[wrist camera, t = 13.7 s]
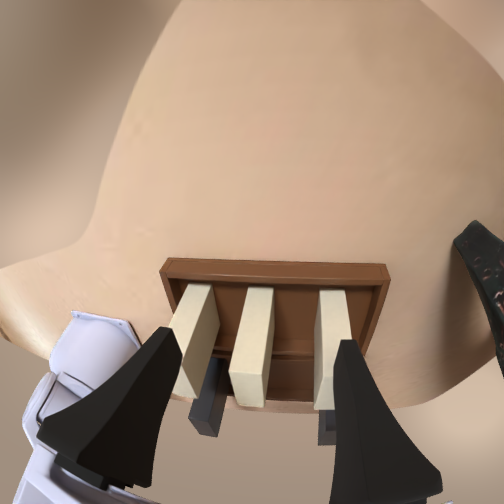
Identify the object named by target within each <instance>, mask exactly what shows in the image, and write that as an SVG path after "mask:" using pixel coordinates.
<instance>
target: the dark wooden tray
mask: <svg viewBox="0 0 504 504" xmlns="http://www.w3.org/2000/svg"><path fill="white" fill-rule="evenodd" d="M232 354H233V351H224V350H215V349H213V350H212V354H211V357H215V358H224V359H226V360H227V364H228V368H229V367H230V363H231V359H232ZM227 396H233V397H235V394H234V390H233V386H232V382H231V381H230V386H229V390H228V394H227ZM266 400H278V401H302V402H314V356H298V355H275V354H272V355H271V363H270V370H269V378H268V385H267V393H266Z"/></svg>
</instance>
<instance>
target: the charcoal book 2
mask: <svg viewBox="0 0 504 504" xmlns="http://www.w3.org/2000/svg"><path fill="white" fill-rule="evenodd" d="M318 445H336V421H335V410H319V430H318Z"/></svg>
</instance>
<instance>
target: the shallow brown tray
mask: <svg viewBox="0 0 504 504" xmlns="http://www.w3.org/2000/svg"><path fill="white" fill-rule="evenodd" d="M159 273H160V276H161V279H162V282H163V285H164V288H165V291H166V294H167V297H168V300H169V303H170V306H171V309H172V312H173V315H174V313H175V311H176V309H177V307H178V305H179V303H180V300H181V298H182V296H183V294H184V292H185V290H186V288H187V286H188V284H189V282H196V283H212V287H213V292H214V297H215V302H216V306H217V311H218V316H219V321H220V327H219V330H218V334H217V337H216V340H215V344H214V347H213V349H215V350H224V351H233V350H234V346H235V342H236V338H237V333H238V329H239V325H240V321H241V316H242V312H243V308H244V304H245V299H246V295H247V291H248V287H249V285H252V286H274V314H275V330H274V338H273V347H272V354H275V355H298V356H314V327H315V320H316V313H317V305H318V297H319V289H320V288H344V289H345V295H346V301H347V308H348V315H349V322H350V329H351V336H352V339H355V340H357V342H358V345H359V348H360V350H361V353H362V355H365V354H366V351H367V349H368V346H369V344H370V341H371V338H372V336H373V333H374V330H375V327H376V325H377V322H378V319H379V316H380V313H381V310H382V307H383V304H384V301H385V298H386V294H387V291H388V288H389V284H390V281H391V278H390V275H389V273H388V270H387V268H386V265H385V264H366V263H321V262H283V261H249V260H217V259H188V258H168V259H167V260H166V262H165V263H164V265H163V266H162V268H161V270H160V271H159Z"/></svg>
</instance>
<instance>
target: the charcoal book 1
mask: <svg viewBox="0 0 504 504" xmlns="http://www.w3.org/2000/svg"><path fill="white" fill-rule="evenodd" d="M230 381H231V378H230V374H229V368H228V364H227V360H226V359H224V358H215V357H210V361H209V364H208V367H207V371H206V374H205V377H204V381H203V384H202V388H201V391H200V394H199V398H198V399H194V400H193V403H192V407H191V410H190V413H189V416H188V419H189V420H190V421H191V423H192V424H193V426H194V427H195V428H196V429H197V431H198V432H199V434H201V435H206V436H211V437H218V433H219V429H220V424H221V420H222V416H223V411H224V407H225V403H226V399H227V394H228V390H229V386H230Z"/></svg>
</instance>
